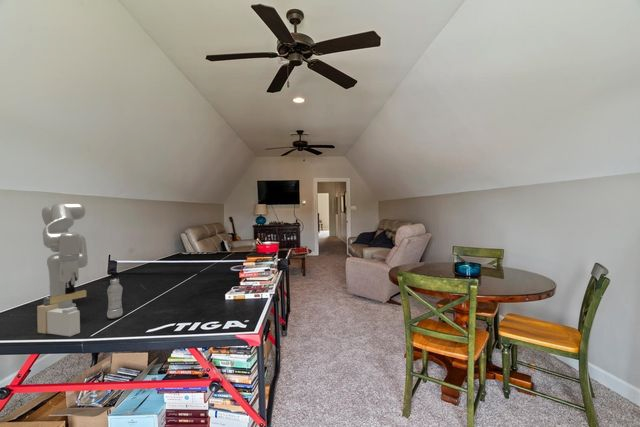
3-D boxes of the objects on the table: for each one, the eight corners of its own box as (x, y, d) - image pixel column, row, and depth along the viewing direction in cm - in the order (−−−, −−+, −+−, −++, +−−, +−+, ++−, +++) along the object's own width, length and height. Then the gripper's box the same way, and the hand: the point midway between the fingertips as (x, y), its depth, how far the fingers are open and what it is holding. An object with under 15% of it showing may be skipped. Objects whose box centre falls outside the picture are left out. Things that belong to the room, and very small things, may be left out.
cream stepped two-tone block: (37, 332, 127) (37, 306, 127) (50, 328, 132) (50, 302, 132) (68, 336, 122) (68, 309, 122) (81, 332, 126) (80, 305, 126)
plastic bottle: (112, 315, 147) (111, 278, 147) (125, 315, 147) (125, 277, 147) (103, 320, 140) (103, 280, 140) (118, 319, 141) (117, 280, 141)
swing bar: (44, 305, 127) (44, 298, 127) (42, 304, 128) (42, 297, 128) (86, 296, 140) (86, 290, 140) (84, 296, 141) (84, 289, 141)
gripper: (54, 258, 138) (54, 295, 138) (65, 260, 130) (65, 299, 130) (73, 256, 145) (74, 291, 145) (85, 258, 137) (85, 295, 137)
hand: (70, 295), depth 138 cm, fingers closed
